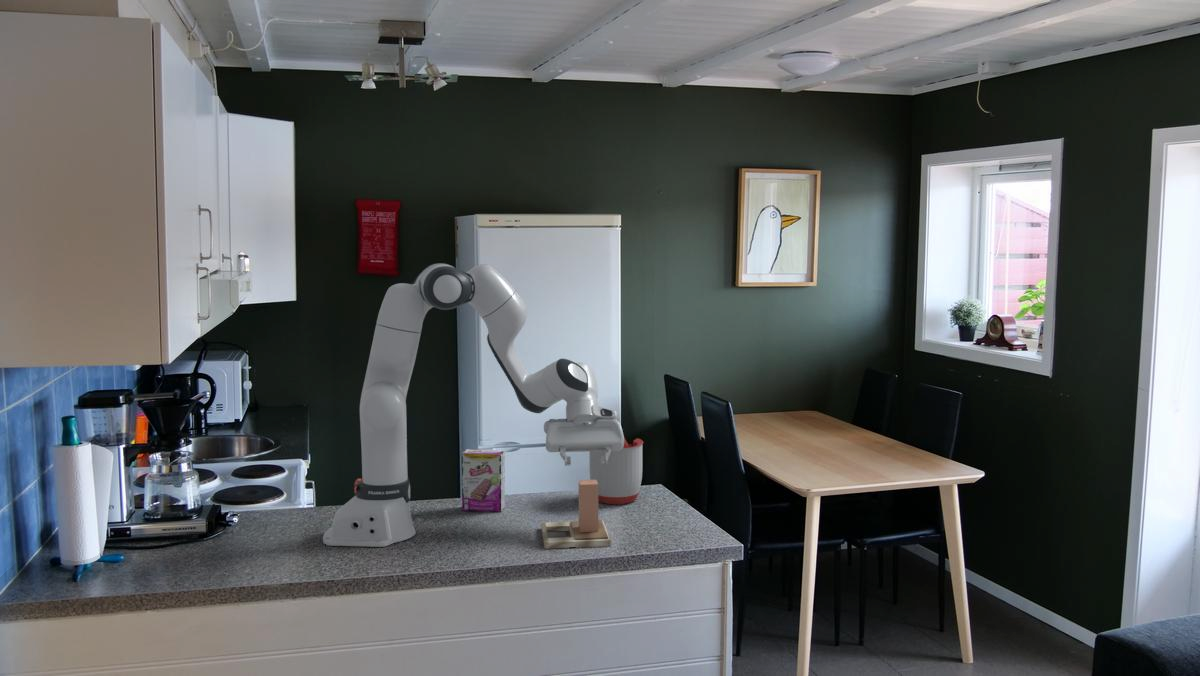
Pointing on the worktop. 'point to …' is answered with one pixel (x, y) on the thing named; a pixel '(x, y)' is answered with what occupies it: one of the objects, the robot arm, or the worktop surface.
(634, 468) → the citrus juicer
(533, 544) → the worktop surface
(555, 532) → the hole board
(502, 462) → the candy bar box
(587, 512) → the terracotta block
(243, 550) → the worktop surface
